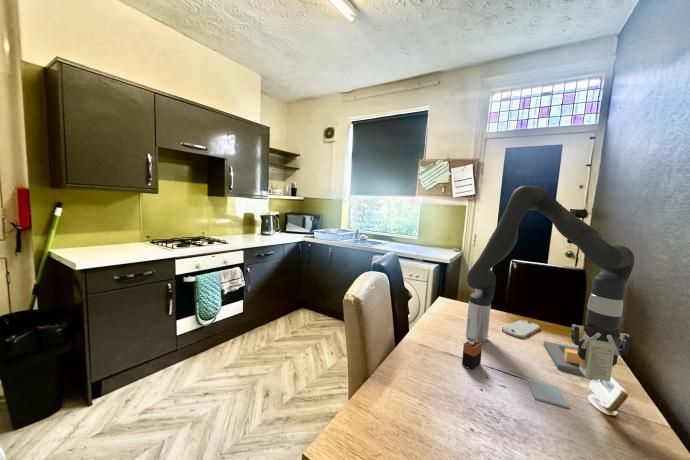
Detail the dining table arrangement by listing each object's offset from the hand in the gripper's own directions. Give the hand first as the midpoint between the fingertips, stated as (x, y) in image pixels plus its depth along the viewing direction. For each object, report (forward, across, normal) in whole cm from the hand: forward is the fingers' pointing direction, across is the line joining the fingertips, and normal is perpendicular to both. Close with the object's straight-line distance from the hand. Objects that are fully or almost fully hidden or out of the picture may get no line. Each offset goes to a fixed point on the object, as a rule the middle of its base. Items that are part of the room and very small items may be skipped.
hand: (595, 361), depth 83 cm
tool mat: (+15, -11, +1) cm, 19 cm away
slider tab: (+13, +3, +25) cm, 28 cm away
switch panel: (+15, +3, +30) cm, 34 cm away
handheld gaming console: (+17, -9, +53) cm, 56 cm away
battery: (+16, -34, +7) cm, 38 cm away
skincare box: (+5, 0, 0) cm, 5 cm away
